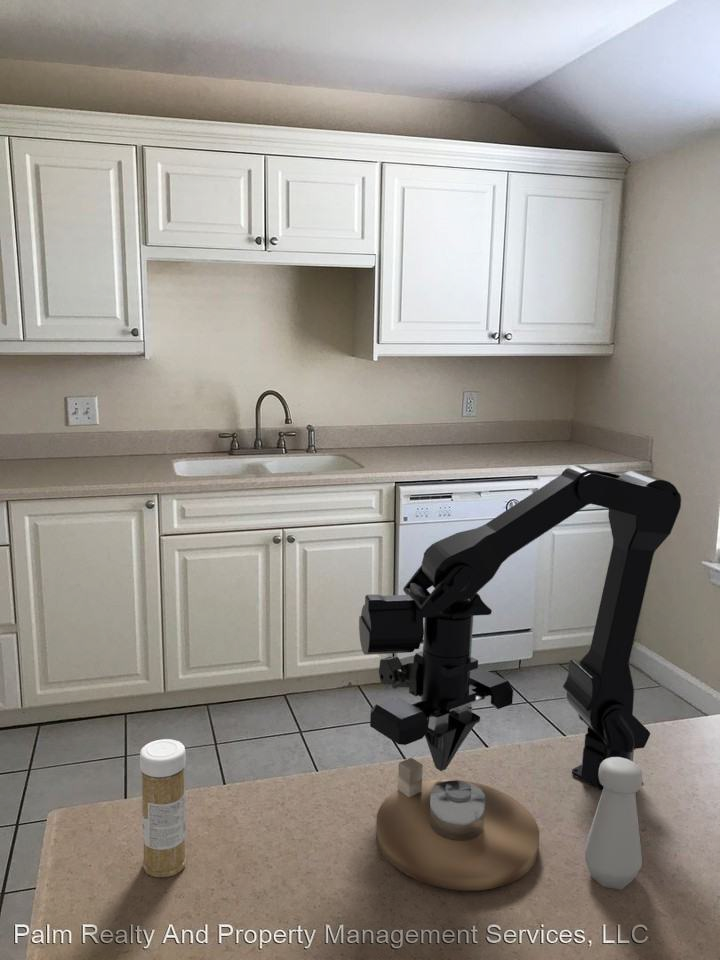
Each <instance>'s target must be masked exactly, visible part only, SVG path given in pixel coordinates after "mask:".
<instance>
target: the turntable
mask: <svg viewBox="0 0 720 960" xmlns="http://www.w3.org/2000/svg"><path fill="white" fill-rule="evenodd" d="M423 766H424V765H423V764H422V763H421V762H419V761H418V760H416V759H414V758H413V757H409V758H407V759H405V760H403V761H400V762H398V776H397V778H398V779H397V790H395V791H394V792H392V793H391V794H390V795H388V797H387V798H385V799H384V801H383V802H382V803H381V805H380V806H379V808H378V810H377V814H376V821H375V823H376V824H375V825H376V826H375V828H376V829H375V837H376V842H377V845H378V847H379V849H380V851H381V853H382V854H383V855H384V857H385V858H386V859H387V860H388V862H390V864H392V865H393V866H394V867H395V868H397V869H398V870H399V871H401V872H402V873H403V874H405V875H407V876H409V877H411V878H413V879H415V880H417V881H419V882H421V883H425V884H428V885H431V886H433V887H439V888H443V889H448V890H454V891H483V890H490V889H491V890H492V889H495V888H496V889H497V888H501V887H503V886H506V885H509V884H511V883H513V882H515V881H518V880H519V879H521V878H522V877H524V876H525V875H526V874H527V873H528V872H529V871H530V870H531V869H532V867H533V866H534V865H535V863H536V861H537V859H538V855H539V850H540V849H539V848H540V829H539V826H538V823H537V820H536V818H535V817H534V816H533V814H532V812H531V811H530V810H528V808H526V807H525V806H524V805H523V804H522V803H521V802H520V801H518V800H517V799H516V798H514V797H513V796H511V795H509V794H507V793H505V792H504V791H501V790H500V789H497V788H494V787H491V786H488V785H486V784H482V783H479V782H474V781H469V780H468V781H467V780H461V779H448V778H447V779H446V778H445V779H430V780H423V770H424V768H423ZM455 780H457V781H463V782H467V783H470V784H472V785H475V786H476V787H478V788H479V789H480V790H482V792H483V793H484V795H485V812H484V828H483V831H482V833H481V834H480V835H479V836H478V837H476V838H474V839H471V840H466V841H455V840H450V839H446V838H444V837H441V836H439V835H438V834H436V833H435V832H434V831H433V830H432V829H431V827H430V824H429V819H430V798H431V790H432V789H433V787H434V786H436V785H437V784H439V783H442V782H446V781H455Z"/></svg>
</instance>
